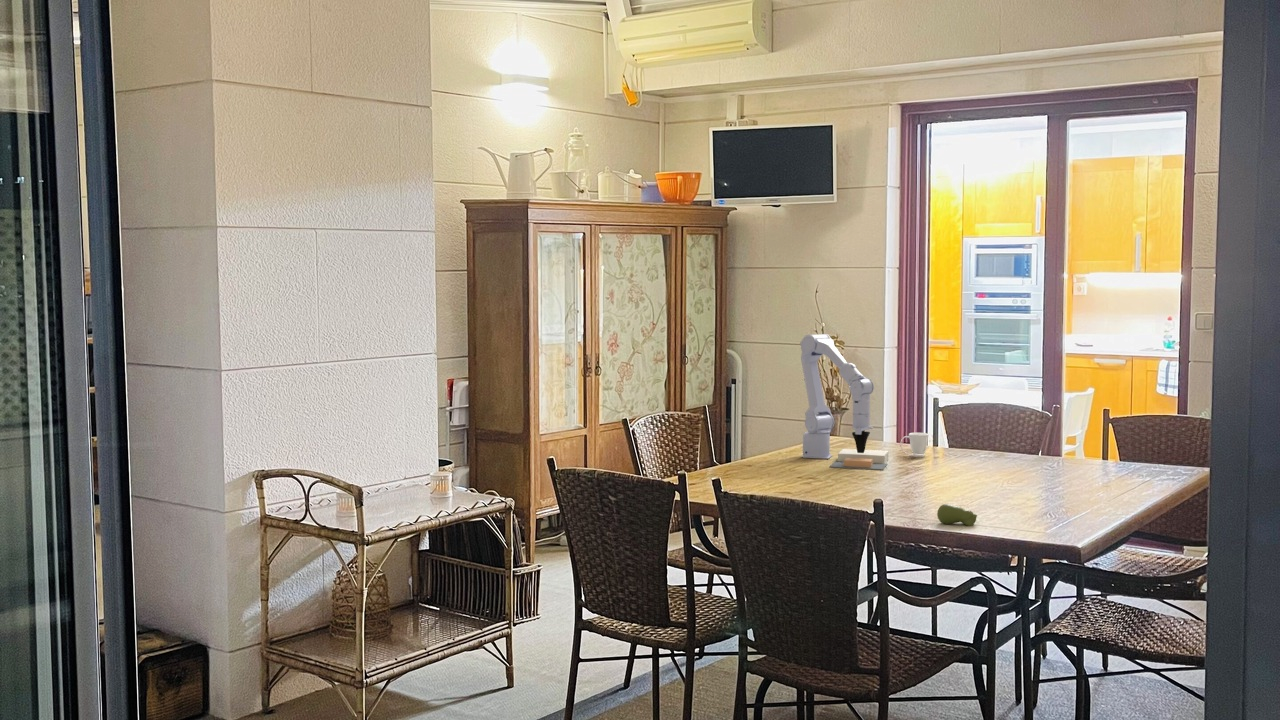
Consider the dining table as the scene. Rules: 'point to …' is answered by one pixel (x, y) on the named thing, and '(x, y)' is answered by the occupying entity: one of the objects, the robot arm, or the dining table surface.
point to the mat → (875, 467)
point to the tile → (858, 462)
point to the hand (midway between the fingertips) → (860, 452)
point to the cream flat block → (864, 455)
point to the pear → (955, 515)
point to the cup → (917, 443)
